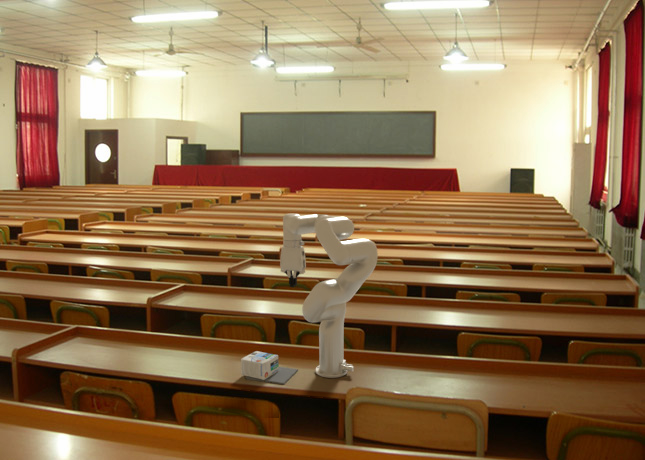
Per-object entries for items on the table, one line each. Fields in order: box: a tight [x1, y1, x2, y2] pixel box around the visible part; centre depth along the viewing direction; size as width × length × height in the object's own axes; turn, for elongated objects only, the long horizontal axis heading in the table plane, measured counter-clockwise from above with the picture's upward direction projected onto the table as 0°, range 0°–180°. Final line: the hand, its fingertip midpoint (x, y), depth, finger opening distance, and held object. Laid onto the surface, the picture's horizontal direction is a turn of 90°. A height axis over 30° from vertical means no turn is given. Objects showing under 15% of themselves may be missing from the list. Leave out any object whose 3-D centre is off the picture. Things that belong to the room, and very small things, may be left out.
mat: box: [245, 366, 299, 385], centre depth 242 cm, size 16×14×1 cm
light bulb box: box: [240, 350, 280, 380], centre depth 241 cm, size 11×7×11 cm
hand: (293, 286), depth 261 cm, fingers closed
